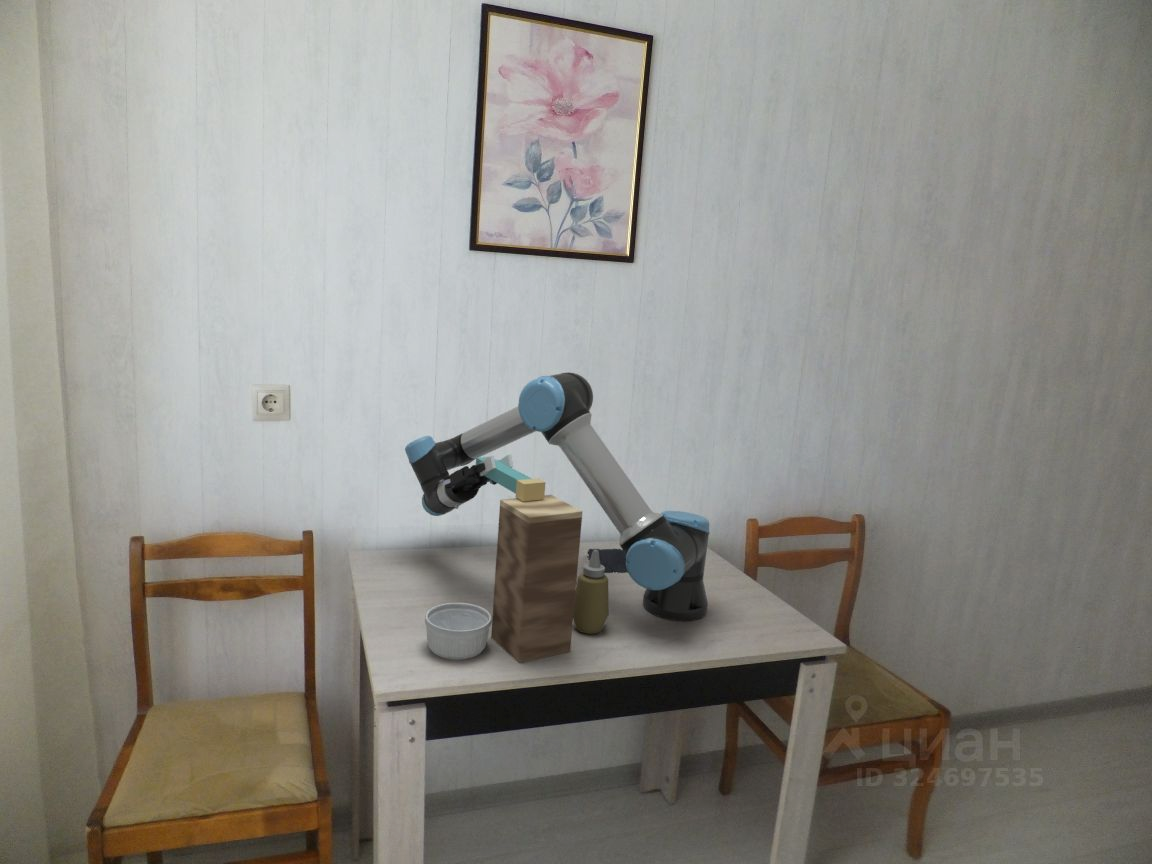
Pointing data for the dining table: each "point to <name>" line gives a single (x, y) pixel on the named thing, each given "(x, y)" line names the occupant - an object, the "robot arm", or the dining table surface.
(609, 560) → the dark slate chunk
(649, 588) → the robot arm
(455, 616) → the ramekin
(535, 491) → the peg
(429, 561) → the dining table surface
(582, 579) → the squeeze bottle
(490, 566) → the dining table surface
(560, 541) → the post
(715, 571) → the dining table surface
